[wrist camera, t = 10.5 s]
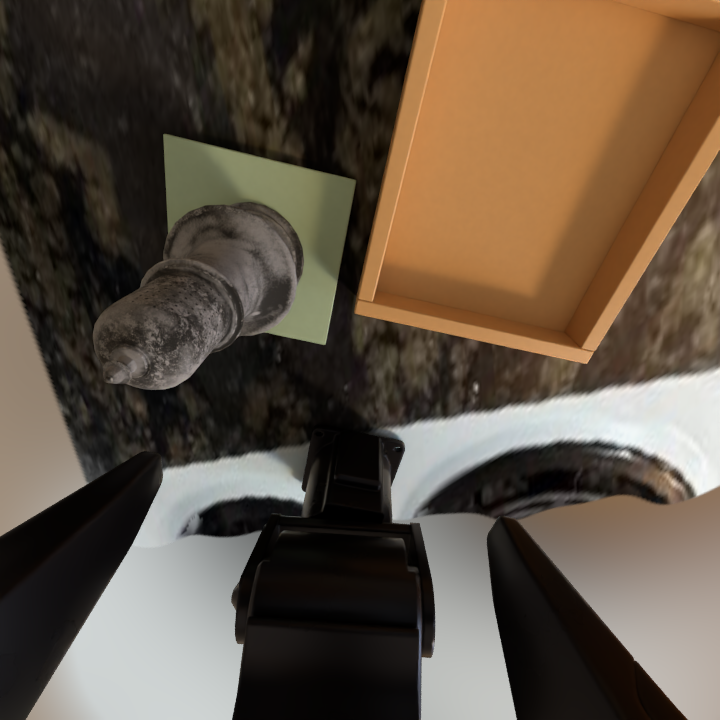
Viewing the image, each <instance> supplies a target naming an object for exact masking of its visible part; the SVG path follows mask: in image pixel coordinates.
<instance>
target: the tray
mask: <svg viewBox="0 0 720 720" xmlns="http://www.w3.org/2000/svg"><path fill="white" fill-rule="evenodd" d="M719 150H720V0H422V2H421V7H420V11H419V16H418V21H417V25H416V30H415V34H414V39H413V43H412V48H411V52H410V57H409V61H408V66H407V70H406V75H405V79H404V84H403V88H402V93H401V97H400V102H399V106H398V111H397V116H396V120H395V125H394V129H393V134H392V138H391V143H390V147H389V152H388V156H387V161H386V165H385V170H384V174H383V179H382V183H381V188H380V192H379V197H378V201H377V206H376V211H375V215H374V220H373V224H372V229H371V233H370V238H369V242H368V247H367V251H366V256H365V260H364V265H363V269H362V274H361V278H360V283H359V287H358V292H357V297H356V303H355V310H354V313H355V314H359V315H364V316H368V317H373V318H378V319H382V320H387V321H391V322H396V323H401V324H405V325H410V326H414V327H419V328H424V329H428V330H433V331H437V332H442V333H447V334H451V335H456V336H460V337H465V338H470V339H474V340H479V341H483V342H488V343H493V344H497V345H502V346H506V347H511V348H516V349H520V350H525V351H529V352H534V353H539V354H543V355H548V356H552V357H557V358H562V359H566V360H571V361H575V362H580V363H585V364H587V363H588V361H589V359H590V358H591V356H592V355H593V353H594V351H595V350H596V348H597V347H598V345H599V344H600V342H601V340H602V339H603V337H604V335H605V334H606V332H607V331H608V329H609V327H610V326H611V324H612V323H613V321H614V319H615V318H616V316H617V314H618V313H619V311H620V310H621V308H622V306H623V305H624V303H625V302H626V300H627V298H628V297H629V295H630V293H631V292H632V290H633V289H634V287H635V285H636V284H637V282H638V281H639V279H640V277H641V276H642V274H643V272H644V271H645V269H646V268H647V266H648V264H649V263H650V261H651V260H652V258H653V256H654V255H655V253H656V251H657V250H658V248H659V247H660V245H661V243H662V242H663V240H664V239H665V237H666V235H667V234H668V232H669V230H670V229H671V227H672V226H673V224H674V222H675V221H676V219H677V218H678V216H679V214H680V213H681V211H682V210H683V208H684V206H685V205H686V203H687V201H688V200H689V198H690V197H691V195H692V193H693V192H694V190H695V189H696V187H697V185H698V184H699V182H700V180H701V179H702V177H703V176H704V174H705V172H706V171H707V169H708V168H709V166H710V164H711V163H712V161H713V159H714V158H715V156H716V155H717V153H718V151H719Z"/></svg>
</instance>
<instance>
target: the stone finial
mask: <svg viewBox="0 0 720 720" xmlns="http://www.w3.org/2000/svg"><path fill="white" fill-rule="evenodd" d="M163 260H164V261H162V262H159V263H157V264H156V265H155V266H153V267H152V268H151V269H149V270H148V271H147V273H146V275H145V276H144V278H143V279H142V282H141V286H140V288H139V289H138V290H136V291H134V292H132V293H131V294H129V295H127V296H125V297H124V298H122V299H120V300H119V301H117V302H115V303H113V304H112V305H111V306H109V307H108V308H107V309H106V310H104V312H103V313H102V314H101V315H100V317H99V318H98V320H97V321H96V323H95V325H94V331H93V342H94V349H95V352H96V355H97V357H98V359H99V361H100V362H101V363H102V365H103V372H104V373H103V374H104V378H105V379H104V380H105V382H106V383H113V384H117V383H119V384H125V383H126V384H128V385H131V386H133V387H137V388H142V389H151V390H155V389H168V388H171V387H175V386H177V385H178V384H180V383H182V382H183V381H185V380H186V379H188V378H190V376H191V375H192V374H193V373H194V372H195V370H196V369H197V368H198V367H199V366H200V364H201V363H202V362H203V361H204V360H205V358H206V357H207V356H208V355H209V354H210V353H213V352H217V351H221V350H223V349H225V348H226V347H228V346H229V345H231V344H232V343H233V342H234V341H235V340H236V338H237V337H238V336H252V335H256V334H259V333H263V332H266V331H268V330H269V329H271V328H273V327H274V326H276V325H278V324H279V323H280V322H281V321H282V319H283V318H284V317H285V316H286V315H287V314H288V313H289V310H290V308H291V306H292V304H293V302H294V299H295V295H296V288H297V285H298V283H299V280H300V278H301V276H302V274H303V266H304V255H303V247H302V245H301V242H300V240H299V237H298V234H297V233H296V231H295V230H294V229H293V227H292V226H291V224H290V223H289V222H288V221H287V220H286V219H285V218H284V217H283V216H282V215H280V214H279V213H278V212H277V211H275V210H273V209H271V208H269V207H267V206H265V205H261V204H257V203H253V202H240V203H235V204H232V205H225V204H224V205H205V206H203V207H200V208H197V209H195V210H192V211H189V212H188V213H186V214H185V215H184V216H183V217H181V218H180V219H179V220H178V221H177V222H175V224H174V226H173V227H172V229H171V231H170V232H169V234H168V236H167V238H166V243H165V247H164V251H163Z"/></svg>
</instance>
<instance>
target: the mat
mask: <svg viewBox="0 0 720 720" xmlns="http://www.w3.org/2000/svg"><path fill="white" fill-rule="evenodd" d="M163 139H164V159H165V179H166V199H167V219H168V234H169V232H170V231H171V229H172V227H173V226H174V224H175V222H177V221H178V220H179V219H180V218H181V217H183V216H184V215H185V214H186V213H188V212H189V211H192V210H195V209H197V208H200V207H203V206H205V205H224V204H225V205H232V204H235V203H240V202H253V203H257V204H261V205H265V206H267V207H269V208H271V209H273V210H275V211H277V212H278V213H279V214H280V215H282V216H283V217H284V218H285V219H286V220H287V221H288V222H289V223H290V224H291V226H292V227H293V229H294V230H295V231H296V233H297V234H298V237H299V240H300V242H301V245H302V247H303V255H304V266H303V274H302V276H301V278H300V280H299V283H298V285H297V288H296V295H295V299H294V302H293V304H292V306H291V308H290V310H289V313H288V314H287V315H286V316H285V317H284V318H283V319H282V321H281V322H280V323H279V324H278V325H276V326H274V327H273V328H271V329H269V330H268V331H266V333H270V334H275V335H280V336H285V337H289V338H294V339H299V340H304V341H308V342H313V343H318V344H323V345H325V344H326V339H327V334H328V329H329V323H330V318H331V313H332V308H333V302H334V297H335V292H336V286H337V281H338V276H339V270H340V265H341V260H342V255H343V249H344V244H345V239H346V233H347V228H348V223H349V218H350V212H351V207H352V202H353V196H354V191H355V186H356V180H354V179H350V178H346V177H342V176H338V175H333V174H329V173H325V172H321V171H317V170H313V169H309V168H305V167H301V166H296V165H292V164H288V163H284V162H280V161H276V160H272V159H268V158H263V157H259V156H255V155H251V154H247V153H243V152H239V151H235V150H230V149H226V148H222V147H218V146H214V145H210V144H206V143H202V142H197V141H193V140H189V139H185V138H181V137H177V136H173V135H169V134H163Z"/></svg>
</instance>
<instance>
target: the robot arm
mask: <svg viewBox="0 0 720 720" xmlns="http://www.w3.org/2000/svg"><path fill="white" fill-rule="evenodd" d="M318 432H322V433H318ZM395 447H400V448H395ZM404 451H405V445H404V443H403V442H402V441H400V440H396V439H391V438H385V437H380V436H375V435H370V434H365V433H360V432H355V431H350V430H344V429H339V428H334V427H329V426H324V425H316V426H315V427H314V428H313V432H312V437H311V442H310V447H309V452H308V457H307V462H306V467H305V473H304V478H303V483H302V490H303V491H304V492H306V494H305V498H304V503H303V508H302V512H301V517H293V516H281V514H273V513H272V514H271V516H270V518H269V520H268V522H267V524H266V525H265V526H264V528H263V530H262V532H261V534H260V536H259V538H258V541H257V543H256V545H255V547H254V549H253V552H252V554H251V556H250V558H249V560H248V562H247V565H246V567H245V569H244V571H243V573H242V575H241V578H240V581H239V583H238V584H237V586H236V587H235V589H234V590H233V593H232V599H231V600H232V601H231V602H232V604H233V606H234V608H235V609H236V621H235V637H236V641H237V643H238V644H244V645H243V653H242V661H241V668H240V676H239V684H238V692H237V698H236V703H235V708H234V713H233V718H232V720H421V657H427V658H431V657H432V655H433V650H434V642H435V604H434V592H433V584H432V578H431V573H430V568H429V564H428V559H427V555H426V550H425V546H424V541H423V537H422V532H421V528H420V524H419V523H410V524H399V523H392V504H391V486H392V483H393V480H394V478H395V475H396V472H397V470H398V467H399V465H400V462H401V459H402V457H403V454H404ZM162 479H163V471H162V460H161V456H160V454H158V453H153V452H147V451H144V452H141V453H139V454H137V455H135V456H134V457H132V458H130V459H129V460H127V461H125V462H124V463H122V464H120V465H119V466H117V467H115V468H114V469H112V470H110V471H109V472H107V473H105V474H104V475H102V476H100V477H99V478H97V479H95V480H94V481H92V482H90V483H89V484H87V485H85V486H84V487H82V488H80V489H79V490H77V491H75V492H74V493H72V494H70V495H69V496H67V497H66V498H64V499H62V500H60V501H59V502H57V503H56V504H54V505H52V506H51V507H49V508H47V509H45V510H44V511H42V512H41V513H39V514H37V515H36V516H34V517H32V518H30V519H29V520H27V521H25V522H24V523H22V524H21V525H19V526H17V527H15V528H14V529H12V530H10V531H9V532H7V533H5V534H4V535H2V536H0V720H26V718H27V716H28V715H29V713H30V712H31V710H32V708H33V707H34V705H35V703H36V702H37V700H38V698H39V697H40V695H41V693H42V692H43V690H44V688H45V687H46V685H47V684H48V682H49V680H50V679H51V677H52V675H53V674H54V672H55V670H56V669H57V667H58V666H59V664H60V662H61V661H62V659H63V657H64V656H65V654H66V652H67V651H68V649H69V647H70V646H71V644H72V642H73V641H74V639H75V638H76V636H77V634H78V633H79V631H80V629H81V628H82V626H83V625H84V623H85V621H86V620H87V618H88V616H89V614H90V613H91V611H92V610H93V608H94V606H95V605H96V603H97V601H98V600H99V598H100V597H101V595H102V593H103V592H104V590H105V588H106V586H107V585H108V583H109V582H110V580H111V578H112V577H113V575H114V574H115V572H116V570H117V569H118V567H119V565H120V563H121V562H122V560H123V559H124V557H125V556H126V554H127V552H128V551H129V549H130V547H131V545H132V544H133V542H134V540H135V538H136V536H137V534H138V532H139V530H140V527H141V525H142V523H143V521H144V519H145V517H146V515H147V513H148V511H149V509H150V506H151V504H152V502H153V500H154V498H155V496H156V494H157V492H158V490H159V488H160V485H161V483H162ZM487 549H488V558H489V567H490V578H491V586H492V596H493V603H494V608H495V614H496V619H497V624H498V629H499V634H500V639H501V643H502V648H503V653H504V658H505V663H506V668H507V673H508V678H509V683H510V688H511V693H512V697H513V702H514V707H515V711H516V717H517V720H687V718H686V717H685V716H684V715H683V714H682V713H681V712H680V711H679V710H678V709H677V708H676V706H675V705H674V704H673V703H672V702H671V701H670V699H669V698H668V697H667V696H666V695H665V694H664V693H663V691H662V690H661V689H660V688H659V687H658V686H657V684H656V683H655V682H654V681H653V680H652V679H651V678H650V676H649V675H648V674H647V673H646V672H645V670H643V668H642V667H641V666H640V665H639V663H637V661H634V658H633V657H632V655H631V654H630V653H629V652H628V651H627V649H626V648H625V647H624V646H623V645H622V643H621V642H620V641H619V640H618V639H617V638H616V636H615V635H614V634H613V633H612V632H611V630H610V629H609V628H608V627H607V626H606V624H605V623H604V622H603V621H602V620H601V619H600V617H599V616H598V615H597V614H596V613H595V612H594V610H593V609H592V608H591V607H590V606H589V605H588V603H587V602H586V601H585V600H584V599H583V598H582V596H581V595H580V594H579V593H578V591H577V590H576V589H575V588H574V587H573V585H572V584H571V583H570V582H569V581H568V580H567V578H566V577H565V576H564V575H563V574H562V572H561V571H560V570H559V569H558V568H557V567H556V565H555V564H554V563H553V562H552V561H551V560H550V558H549V557H548V556H547V555H546V554H545V552H544V551H543V550H542V549H541V548H540V546H539V545H538V544H537V543H536V542H535V541H534V539H533V538H532V537H531V536H530V535H529V534H528V532H527V531H526V530H525V529H524V528H523V527H522V525H521V524H520V523H519V522H518V521H517V520H516V519H515V518H511V517H506V516H500V517H498V519H497V520H496V522H495V524H494V525H493V527H492V528H491V530H490V531H489V533H488V536H487Z"/></svg>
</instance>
